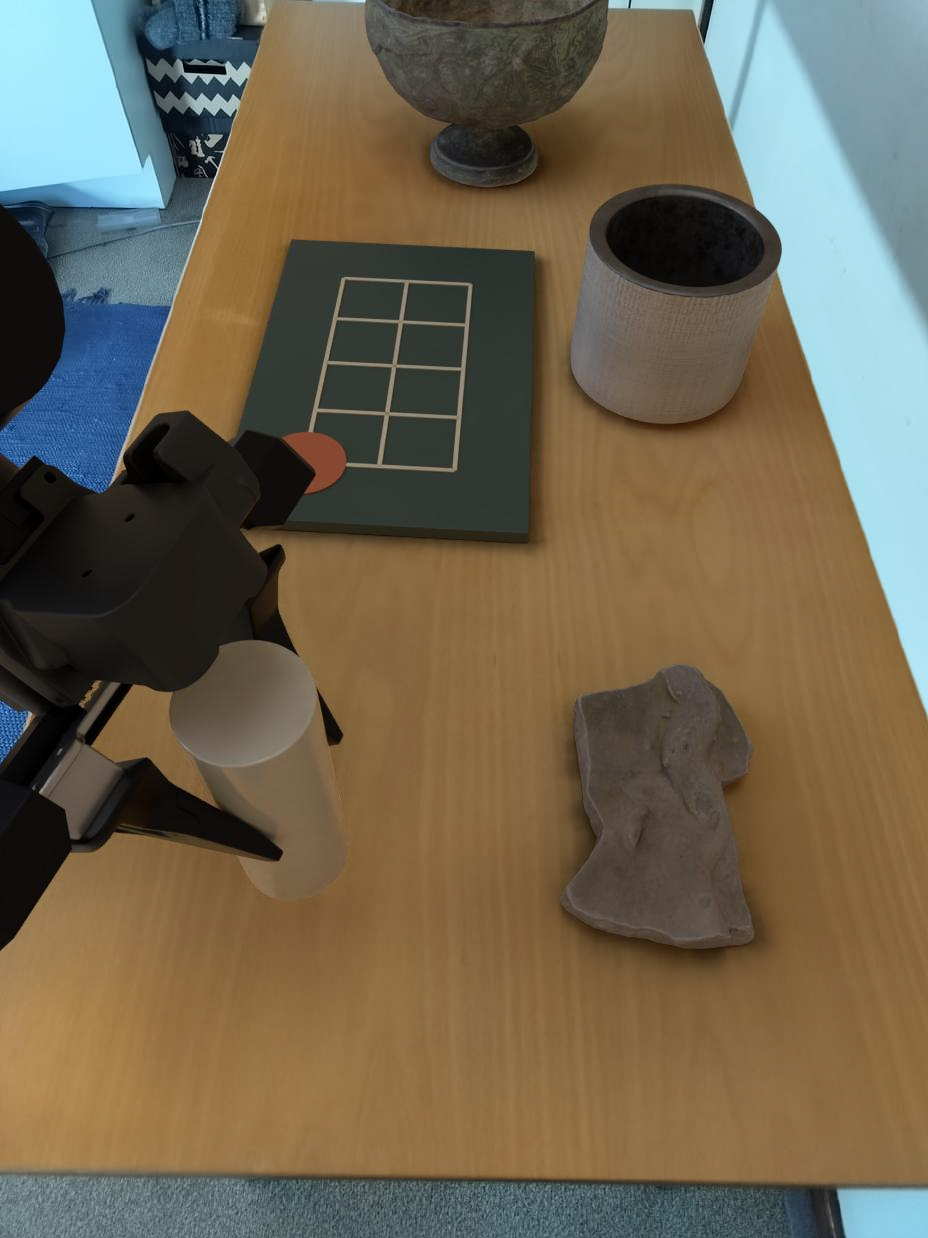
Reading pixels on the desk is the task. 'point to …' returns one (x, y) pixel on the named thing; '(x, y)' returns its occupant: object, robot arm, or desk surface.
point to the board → (402, 387)
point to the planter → (671, 301)
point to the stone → (661, 812)
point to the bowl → (486, 73)
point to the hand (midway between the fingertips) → (306, 797)
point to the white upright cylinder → (267, 762)
